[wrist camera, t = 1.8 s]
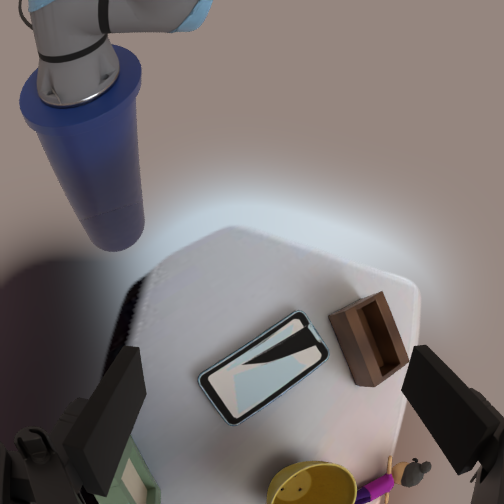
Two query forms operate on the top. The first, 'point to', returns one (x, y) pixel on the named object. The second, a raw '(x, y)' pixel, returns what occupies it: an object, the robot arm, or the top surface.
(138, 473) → the frame
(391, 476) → the toy
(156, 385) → the top surface
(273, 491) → the flower pot
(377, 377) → the holder
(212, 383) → the smartphone
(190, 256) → the top surface
